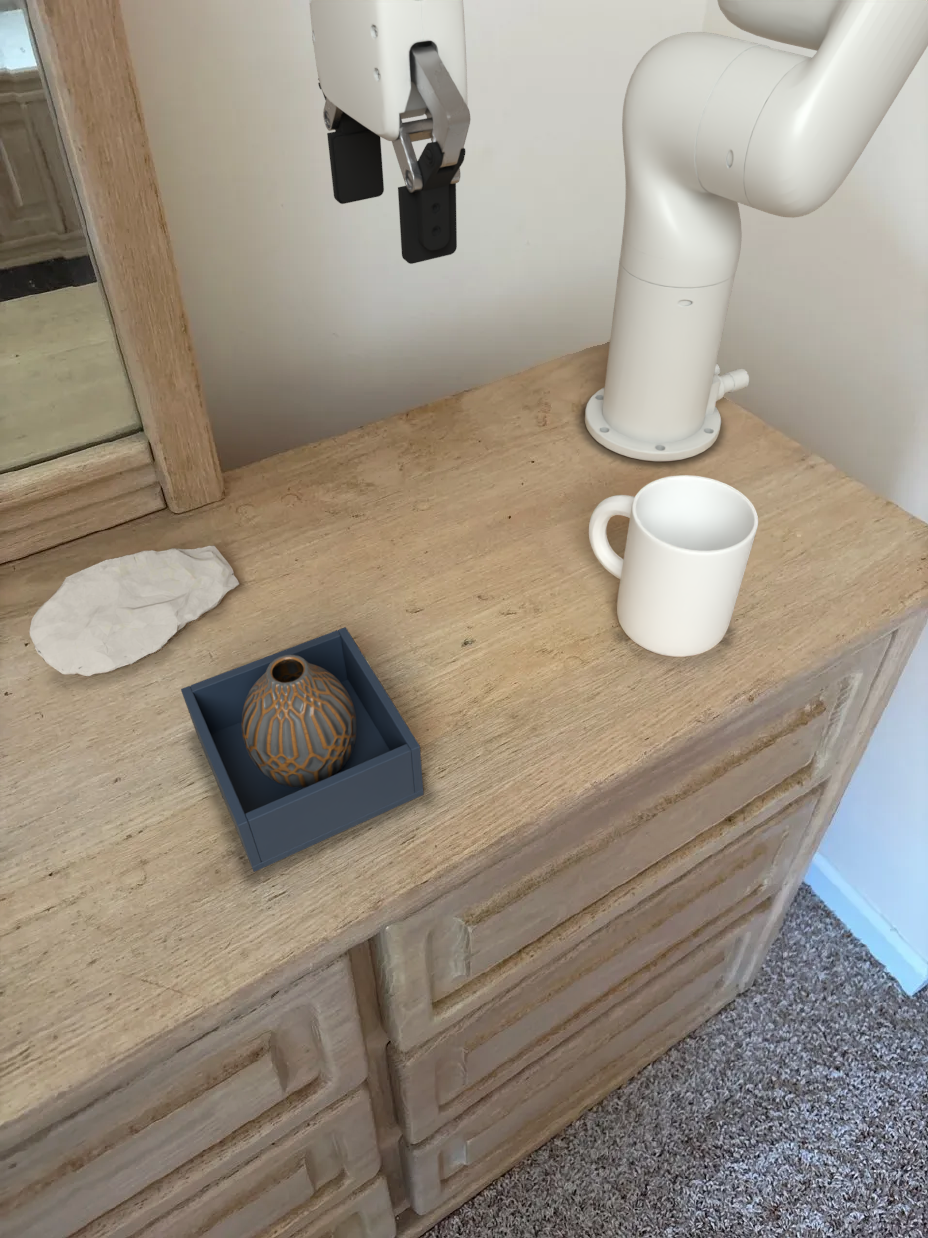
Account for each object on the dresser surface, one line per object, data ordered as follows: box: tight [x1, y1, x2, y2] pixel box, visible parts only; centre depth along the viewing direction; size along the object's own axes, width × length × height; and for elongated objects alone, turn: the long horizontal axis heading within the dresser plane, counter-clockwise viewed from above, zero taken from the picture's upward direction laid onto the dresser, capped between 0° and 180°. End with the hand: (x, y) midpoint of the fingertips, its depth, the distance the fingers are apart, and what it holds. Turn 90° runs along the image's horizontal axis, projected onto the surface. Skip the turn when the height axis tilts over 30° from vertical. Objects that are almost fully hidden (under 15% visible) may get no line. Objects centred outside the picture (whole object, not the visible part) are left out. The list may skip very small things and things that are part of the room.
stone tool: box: [28, 544, 240, 677], centre depth 67 cm, size 9×3×15 cm
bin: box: [180, 627, 425, 873], centre depth 57 cm, size 11×11×5 cm
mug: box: [588, 474, 759, 658], centre depth 65 cm, size 12×8×10 cm
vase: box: [242, 655, 357, 787], centre depth 55 cm, size 7×7×9 cm
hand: (392, 226), depth 54 cm, fingers open, 9 cm apart
